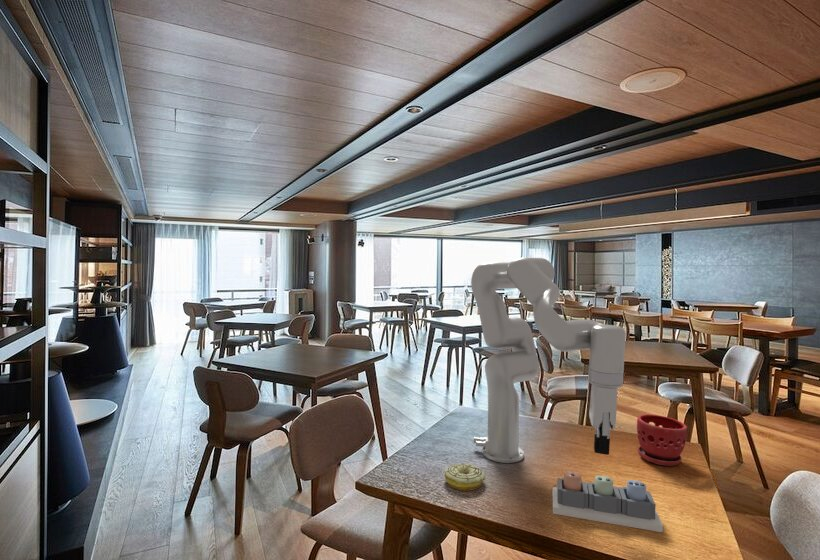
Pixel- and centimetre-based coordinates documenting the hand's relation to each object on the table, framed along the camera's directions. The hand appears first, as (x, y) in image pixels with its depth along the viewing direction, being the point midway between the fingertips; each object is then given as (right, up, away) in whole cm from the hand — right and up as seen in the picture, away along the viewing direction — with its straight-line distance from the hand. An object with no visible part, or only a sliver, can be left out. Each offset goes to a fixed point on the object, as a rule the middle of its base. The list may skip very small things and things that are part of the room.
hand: (601, 452), depth 103 cm
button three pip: (+7, -11, -3) cm, 14 cm away
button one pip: (-6, -11, +2) cm, 13 cm away
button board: (0, -14, 0) cm, 14 cm away
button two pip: (0, -11, 0) cm, 11 cm away
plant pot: (+30, -14, +28) cm, 43 cm away
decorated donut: (-31, -14, +13) cm, 36 cm away
